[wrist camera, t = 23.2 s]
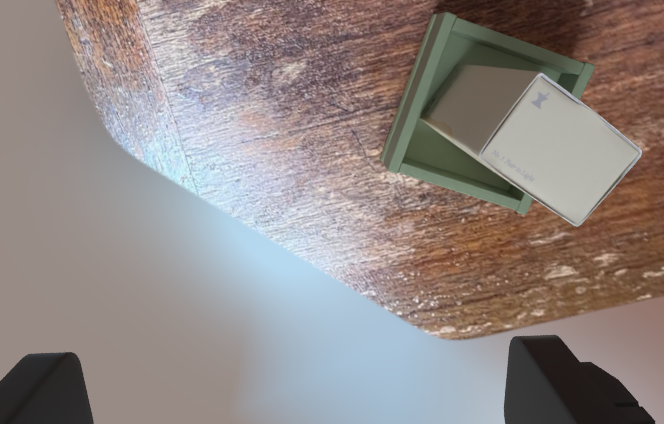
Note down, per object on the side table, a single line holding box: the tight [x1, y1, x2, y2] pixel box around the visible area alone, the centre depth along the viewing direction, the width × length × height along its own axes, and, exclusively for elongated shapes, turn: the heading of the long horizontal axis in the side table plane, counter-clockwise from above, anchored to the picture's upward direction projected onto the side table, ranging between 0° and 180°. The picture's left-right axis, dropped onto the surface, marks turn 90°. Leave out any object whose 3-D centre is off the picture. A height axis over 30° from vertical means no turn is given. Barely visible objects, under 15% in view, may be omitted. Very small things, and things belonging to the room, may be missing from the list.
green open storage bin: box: [380, 12, 595, 215], centre depth 32 cm, size 10×10×4 cm
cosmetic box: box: [420, 64, 642, 226], centre depth 27 cm, size 6×4×12 cm
